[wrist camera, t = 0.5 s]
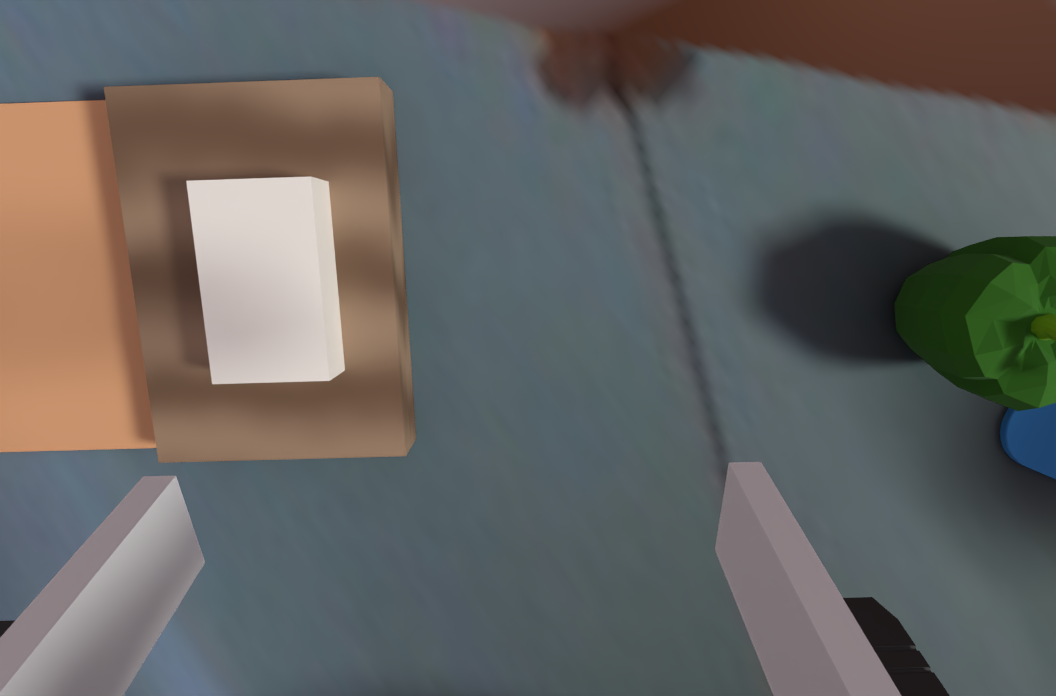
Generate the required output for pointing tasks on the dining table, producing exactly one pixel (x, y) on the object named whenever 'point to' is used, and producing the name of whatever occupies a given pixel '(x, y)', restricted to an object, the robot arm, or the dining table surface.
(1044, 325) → the bell pepper
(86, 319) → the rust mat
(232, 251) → the cream block
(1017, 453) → the handheld gaming device
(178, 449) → the board
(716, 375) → the dining table surface
